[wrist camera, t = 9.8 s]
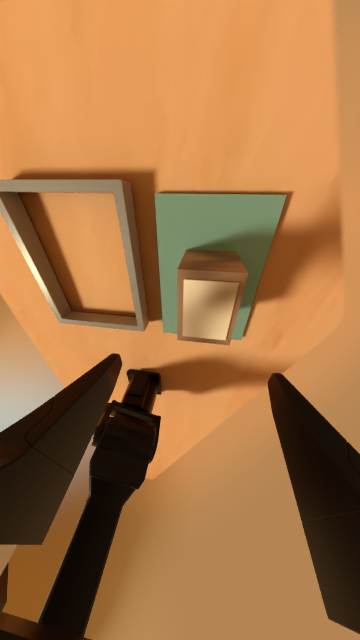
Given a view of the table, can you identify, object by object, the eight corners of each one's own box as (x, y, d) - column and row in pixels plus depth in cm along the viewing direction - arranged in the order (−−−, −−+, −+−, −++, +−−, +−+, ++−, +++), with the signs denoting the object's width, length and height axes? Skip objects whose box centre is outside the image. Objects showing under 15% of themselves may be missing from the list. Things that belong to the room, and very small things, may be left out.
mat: (240, 338, 23) (241, 340, 23) (163, 330, 24) (163, 332, 24) (285, 194, 14) (286, 194, 13) (155, 193, 15) (154, 193, 14)
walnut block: (236, 251, 16) (248, 273, 11) (224, 311, 20) (229, 346, 15) (186, 249, 17) (176, 269, 12) (184, 307, 21) (177, 340, 16)
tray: (148, 322, 24) (144, 331, 22) (68, 315, 25) (59, 322, 23) (130, 182, 14) (120, 179, 13) (5, 181, 16) (-18, 179, 14)
